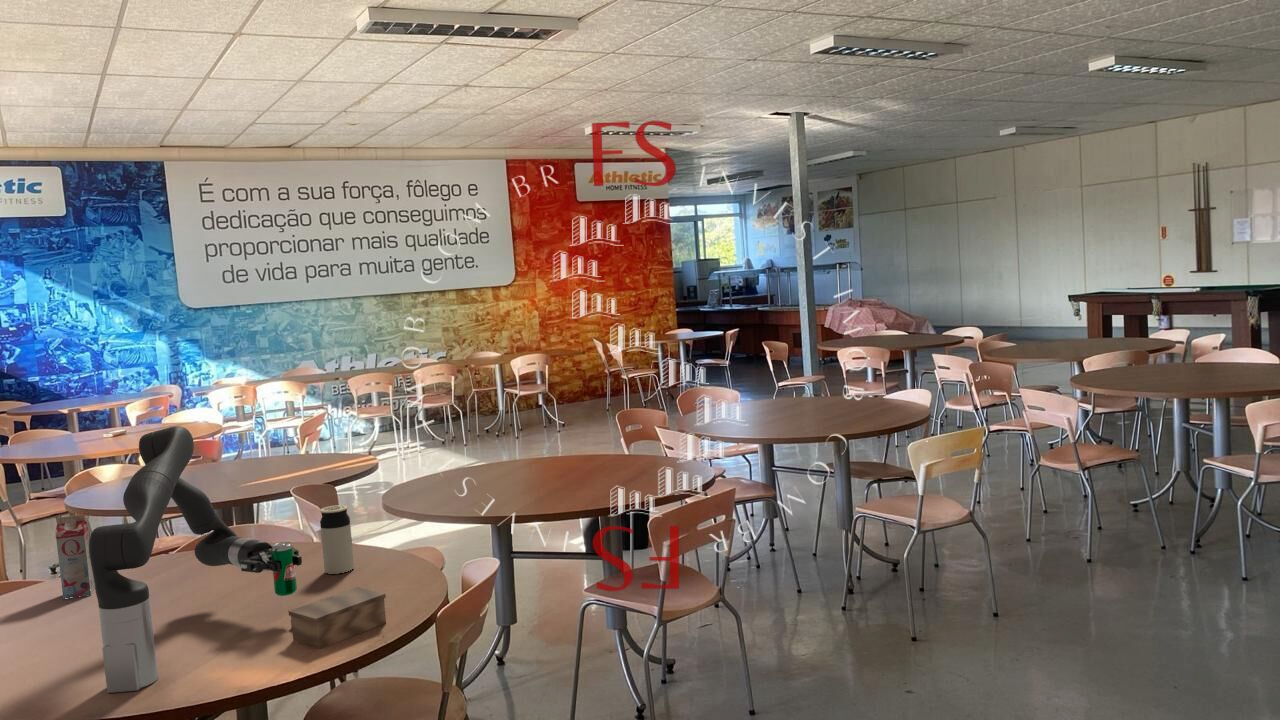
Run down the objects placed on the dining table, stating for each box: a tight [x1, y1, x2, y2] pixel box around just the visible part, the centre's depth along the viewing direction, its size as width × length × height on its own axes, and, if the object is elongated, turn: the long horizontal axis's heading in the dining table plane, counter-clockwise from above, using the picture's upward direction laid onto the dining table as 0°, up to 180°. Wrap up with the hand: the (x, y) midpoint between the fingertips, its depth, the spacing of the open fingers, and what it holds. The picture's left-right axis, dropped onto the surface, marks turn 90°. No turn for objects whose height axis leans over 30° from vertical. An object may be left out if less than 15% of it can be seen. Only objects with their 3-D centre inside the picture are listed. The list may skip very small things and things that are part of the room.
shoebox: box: [288, 586, 387, 650], centre depth 221 cm, size 19×11×7 cm, turn 142°
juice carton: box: [55, 514, 95, 599], centre depth 264 cm, size 7×7×22 cm
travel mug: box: [319, 504, 355, 575], centre depth 271 cm, size 8×8×18 cm
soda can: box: [271, 541, 298, 597], centre depth 231 cm, size 5×5×12 cm
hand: (289, 564), depth 229 cm, fingers closed on soda can, 5 cm apart
